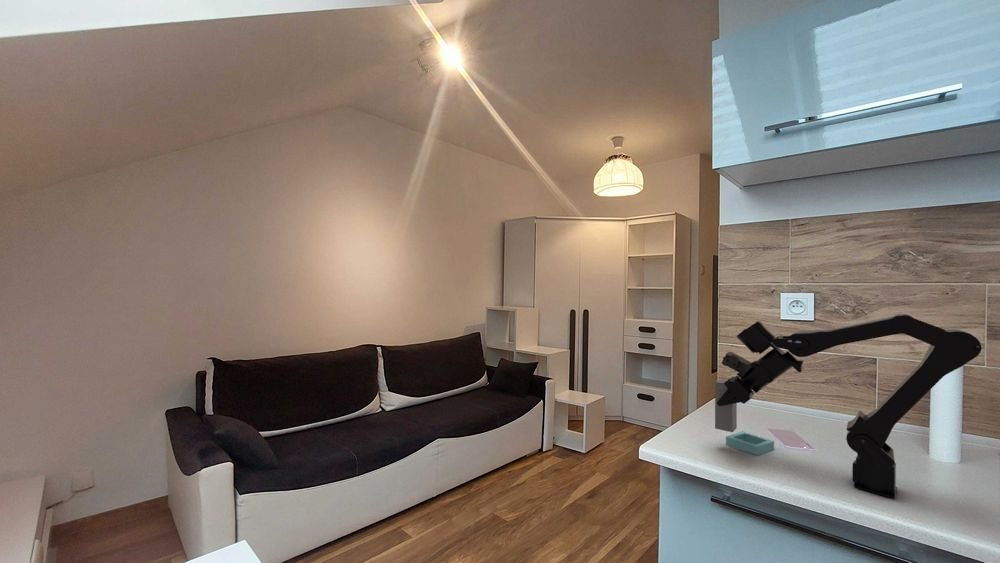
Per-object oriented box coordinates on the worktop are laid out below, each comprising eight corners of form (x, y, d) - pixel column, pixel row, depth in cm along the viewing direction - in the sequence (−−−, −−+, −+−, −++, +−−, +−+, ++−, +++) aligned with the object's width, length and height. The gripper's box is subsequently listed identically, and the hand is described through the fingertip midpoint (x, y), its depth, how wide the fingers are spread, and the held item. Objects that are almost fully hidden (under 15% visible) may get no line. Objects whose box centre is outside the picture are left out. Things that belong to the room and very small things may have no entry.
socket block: (774, 449, 111) (774, 441, 111) (757, 455, 106) (757, 447, 106) (742, 438, 118) (742, 431, 118) (725, 444, 113) (725, 436, 113)
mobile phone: (793, 429, 124) (817, 449, 110) (793, 433, 124) (817, 452, 110) (764, 427, 126) (785, 445, 111) (764, 430, 126) (785, 449, 111)
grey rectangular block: (736, 428, 110) (736, 381, 110) (732, 432, 106) (732, 384, 107) (719, 424, 112) (719, 379, 113) (715, 428, 109) (715, 381, 109)
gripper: (750, 339, 114) (708, 373, 121) (733, 346, 100) (686, 384, 108) (784, 372, 108) (737, 405, 116) (771, 384, 95) (719, 420, 102)
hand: (720, 402), depth 110 cm, fingers closed on grey rectangular block, 4 cm apart
